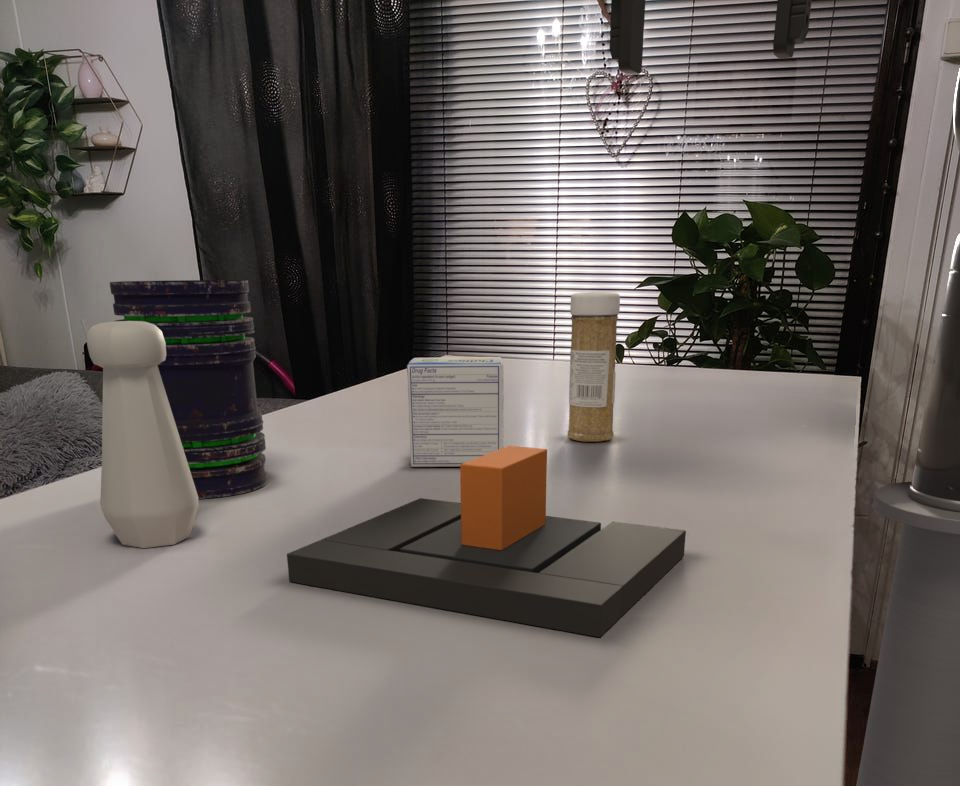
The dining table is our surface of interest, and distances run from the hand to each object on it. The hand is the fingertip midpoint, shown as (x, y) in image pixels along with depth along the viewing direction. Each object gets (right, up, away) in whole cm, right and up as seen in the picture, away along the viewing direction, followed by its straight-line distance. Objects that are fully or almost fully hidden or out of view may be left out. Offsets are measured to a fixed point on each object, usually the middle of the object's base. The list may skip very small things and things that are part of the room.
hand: (703, 64), depth 50 cm
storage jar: (-34, -20, +21) cm, 45 cm away
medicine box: (-14, -17, +28) cm, 36 cm away
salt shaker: (-33, -26, +7) cm, 42 cm away
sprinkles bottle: (-2, -12, +39) cm, 41 cm away
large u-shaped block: (-12, -28, +1) cm, 30 cm away
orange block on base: (-11, -27, +2) cm, 30 cm away
